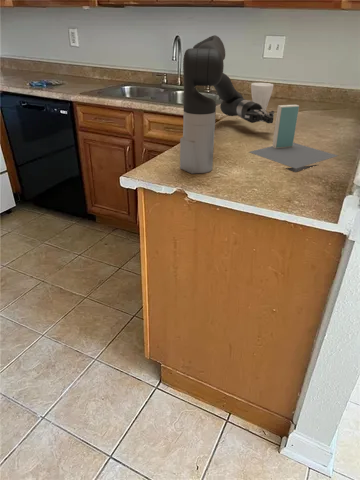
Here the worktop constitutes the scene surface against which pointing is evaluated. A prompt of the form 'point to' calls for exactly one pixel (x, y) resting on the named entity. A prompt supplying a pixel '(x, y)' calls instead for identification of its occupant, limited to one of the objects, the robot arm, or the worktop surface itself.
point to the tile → (285, 126)
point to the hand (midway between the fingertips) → (271, 120)
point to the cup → (261, 93)
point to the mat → (294, 156)
